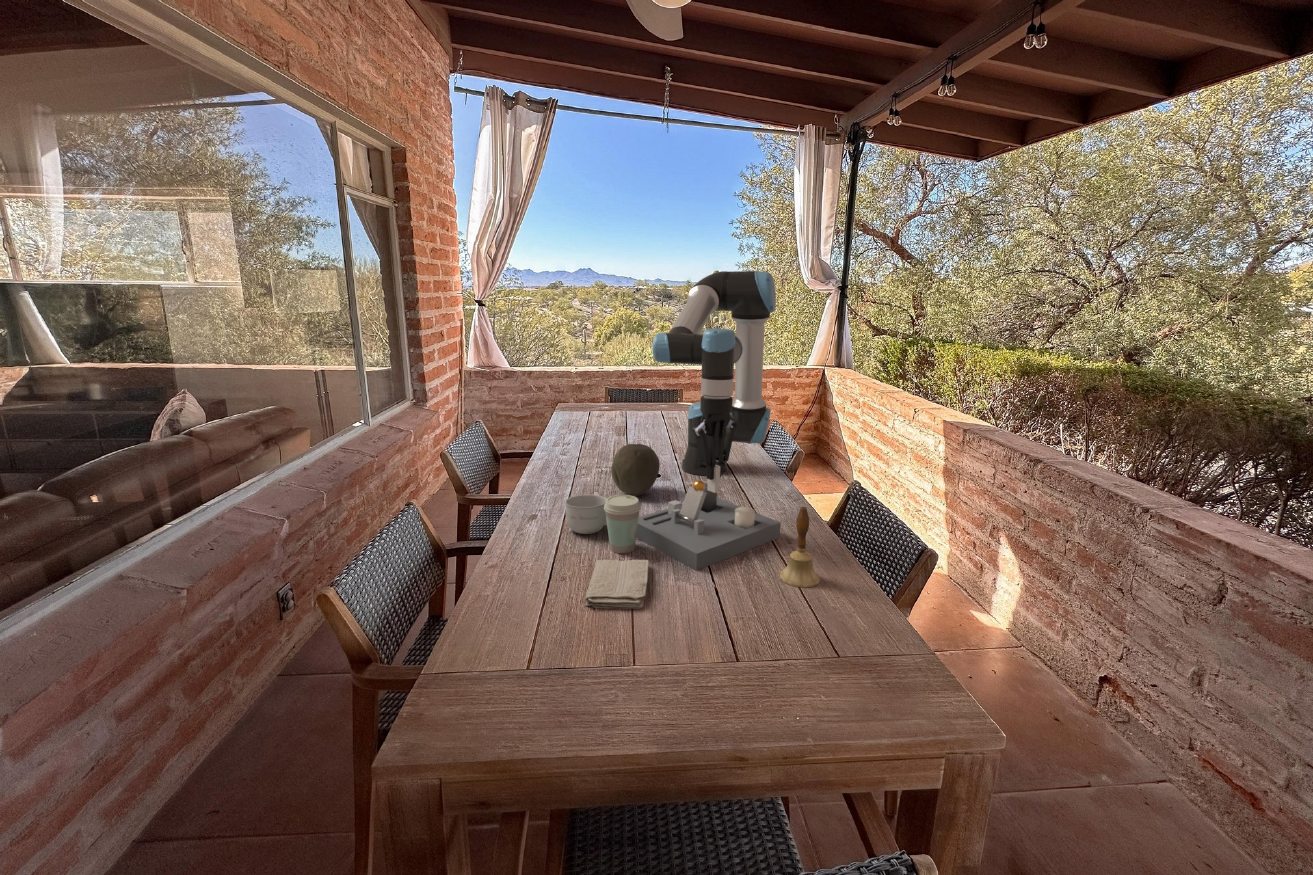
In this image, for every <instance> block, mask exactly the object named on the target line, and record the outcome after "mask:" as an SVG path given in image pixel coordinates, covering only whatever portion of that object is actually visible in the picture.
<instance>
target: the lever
mask: <svg viewBox="0 0 1313 875" xmlns="http://www.w3.org/2000/svg"><path fill="white" fill-rule="evenodd" d="M704 484H705V482H704V481H702V480H696V481H694V482H693V484H692V486H690V485H689V486H688V487H687V488H688V489H687V491H686V494H685V496H684V500H683V503H682V504H683V505H682V508H681V511H680V513H678V514H677V517H678V518H680V519H682V520H684V521H686V522H688V523H691V524H693V525H694V521H695V520H697V519H698V516H699V513H700V510H701V508H702V505H703V502H704V499H705V496H706V492H703V490H704V488H705V485H704Z"/></svg>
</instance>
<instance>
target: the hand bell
mask: <svg viewBox="0 0 1313 875" xmlns="http://www.w3.org/2000/svg"><path fill="white" fill-rule="evenodd" d="M795 523H796V525H795V526H796V530H797V531H796V532H797V535H798V536H797V537H798V538H797V545H796V546H797V549H796V550H794V551H792V552H791V553H790V555H789V560H788V562H787V565H786V567H785V568H784V569H782V570H781V571H780V573H779V579H780V580H781V581H782V582H784V584H786V585H788V586H792V587H796V588H800V589H802V588H803V589H804V588H806V589H807V588H808V589H809V588H812V587H816V586H817V585H819V583H820V581H821V580H820V579H821V577H820V576H819V574H818V573H817V572H816V571H815V568H814V566H813V565H814V564H813V556H812V554H811V553H809V552H808V551H807V550H806V548H807V546H806V544H807V541H806V540H807V539H806V538H807V534H808V532H809V527H810V516H809V513H808V508H807V507H806V506H800V509H799V511H798V514H797V516H796V522H795Z"/></svg>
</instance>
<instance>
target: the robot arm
mask: <svg viewBox="0 0 1313 875" xmlns="http://www.w3.org/2000/svg"><path fill="white" fill-rule="evenodd" d="M775 286H776V285H775V280H774V277H773V275H772V274H771V273H770V272H768V271H759V270H746V271H744V270H742V271H740V270H737V271H735V270H734V271H728V270H727V271H717V272H714V273H711V274H708V275H706V276H704V277H703V278H702V279H700V280H698V281H697V282H696V283H695V284H694V285H693V286H692V287H691V289H690V290H689V292H688V293H687V298H686V303H685V305H684V306H683V308H682V310H681V311H680V313H679V315H678V316H677V319H676V320H675V321H674V323H673V326H672V327H671V328H670V330H669V331H668V332H658V333H656V334H655V335H654V336H653V341H652V346H651V347H652V350H651V351H652V357H653V359H654V360H655V362H657V363H662V364H663V363H664V364H668V365H669V364H677V365H678V364H681V365H682V364H683V365H684V364H685V365H700V366H701V376H700V378H701V379H700V394H701V395H702V396H701V397H700V401H697V402H694V403H691V404H690V406H689V407H688V416H687V421H688V422H687V447H686V451H685V453H684V457H683V459H682V461H681V469H682V471H684V472H686V473H688V474H691V475H695V476H697V475H698V476H705V477H706V479H707V483H706V484H707V490H708V491H711V492H714V493H717V494H718V493H720V488H721V481H720V479H721V477H722V474H724V473H726V472H727V471H728V470H727V469H728V468H727V467H728V463H727V462H728V461H729V460H730V459H729V458H730V453H731V448H732V445H733V443H742V444H744V443H745V444H749V445H750V444H763V442H765V440H766V437H767V432H768V428H769V425H770V420H771V410H772V409H771V408H769V407H767V402H766V400H764V398H763V397H762V396H763V395H762V394H763V377H764V376H763V375H764V374H763V372H764V350H765V349H764V344H765V324H766V323H767V321H769V319H770V318H771V313H774V312H775V311H776V307H777V306H776V304H777V303H776V301H777V300H776V299H777V298H776V287H775ZM718 311H719V312H721V311H722V312H724V311H725V312H731V314H730V315H731V316H730V318H731V319H732V320H733V321H734V322H735V324H736V325H735V330H733V329H730V328H708V329H705V330H704V331H703V329H704V327H705V325H706V324H707V322H708V320H709V318H710V316H711V315H713V314H714V313H715V312H718ZM702 331H703V332H702ZM733 395H734V397H733Z"/></svg>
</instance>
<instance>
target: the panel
mask: <svg viewBox="0 0 1313 875" xmlns="http://www.w3.org/2000/svg"><path fill="white" fill-rule="evenodd" d="M682 505H683V503H682ZM739 507H741V506H740V505H737V504H734V503H732V502H730V501H727V500H724V499H721V498H719V497H717V508H716V509H715V510H712V511H705V510H700V513H699V516H698V519H697V520H695V521H694V525H693V524H691V523H688V522H686V521H684V520H682V519H680V518H678V517H677V514H678V513H680V511H681V510H680V509H675V510H671V515H670V514H668V508H665V509H663V510H658V511H654V512H651V513H649V514H644V515H641V516H639V518H638V526H637V535H636V539H638V540H640V541H641V542H643V543H645V544H647V545H648V546H650V547H652V548H654V549H657V551H659V552H662V553H663V554H665V555H667V556H669V557H671V558H673V559H675V560H676V561H678V562H679V563H680V562H681V563H682V564H683V563H684V565H685V566H686V567H687V566H688V567H689V568H691V569H692V570H694V569H695V571H696V570H697V571H698V570H701V569H704V568H706V567H709V566H711V565H714V564H716V563H719V562H722V561H724V560H726V559H728V558H731V557H734V556H736V555H739V554H742V553H744V552H746V551H749V550H752V549H754V548H756V547H759V546H762V545H764V544H767V543H769V542H771V541H775V540H777V539H780V538H781V537H780V536H781V524H782V523H781V521H778V520H775V519H773V518H770V517H768V516H765V515H763V514H760V513H758V512H755V520H754V526H753V527H750V528H747V529H743V528H741V527H739V526H736V525H734V523H735V509H736V508H739Z"/></svg>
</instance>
